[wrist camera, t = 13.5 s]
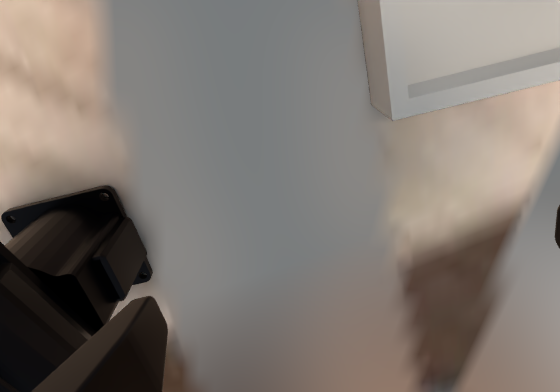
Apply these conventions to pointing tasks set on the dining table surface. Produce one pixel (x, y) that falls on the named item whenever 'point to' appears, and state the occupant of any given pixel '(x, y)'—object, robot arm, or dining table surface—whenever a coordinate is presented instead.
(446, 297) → the dining table surface
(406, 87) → the socket tray
